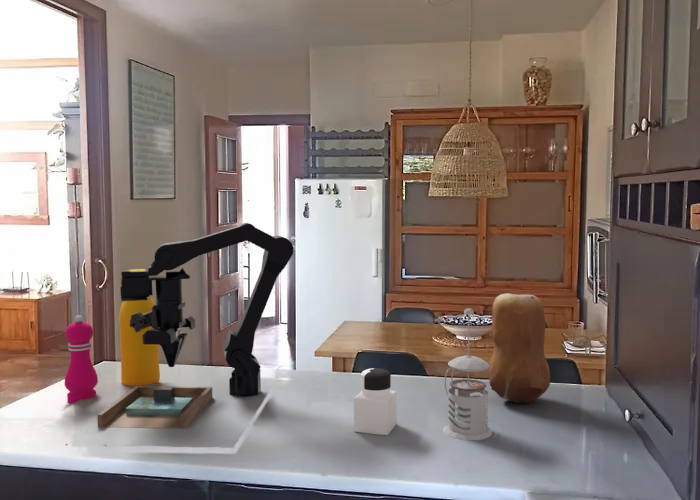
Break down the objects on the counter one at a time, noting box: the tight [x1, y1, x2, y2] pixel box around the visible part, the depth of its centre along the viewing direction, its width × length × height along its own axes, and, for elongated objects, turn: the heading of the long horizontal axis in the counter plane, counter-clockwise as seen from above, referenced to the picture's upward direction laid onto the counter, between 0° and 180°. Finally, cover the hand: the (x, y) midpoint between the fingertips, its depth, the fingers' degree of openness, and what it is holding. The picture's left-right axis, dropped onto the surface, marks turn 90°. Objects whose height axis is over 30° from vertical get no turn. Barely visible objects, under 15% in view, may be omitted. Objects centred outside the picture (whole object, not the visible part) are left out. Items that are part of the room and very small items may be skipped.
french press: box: [443, 308, 493, 441], centre depth 133 cm, size 10×12×25 cm
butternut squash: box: [488, 292, 551, 405], centre depth 151 cm, size 14×13×25 cm
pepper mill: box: [64, 314, 99, 405], centre depth 154 cm, size 7×7×20 cm
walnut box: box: [96, 385, 214, 430], centre depth 143 cm, size 18×20×4 cm
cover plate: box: [126, 387, 193, 416], centre depth 144 cm, size 12×8×4 cm, turn 86°
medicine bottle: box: [353, 367, 398, 436], centre depth 135 cm, size 7×7×12 cm
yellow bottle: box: [118, 268, 161, 387], centre depth 166 cm, size 9×9×29 cm
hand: (171, 366), depth 151 cm, fingers closed
